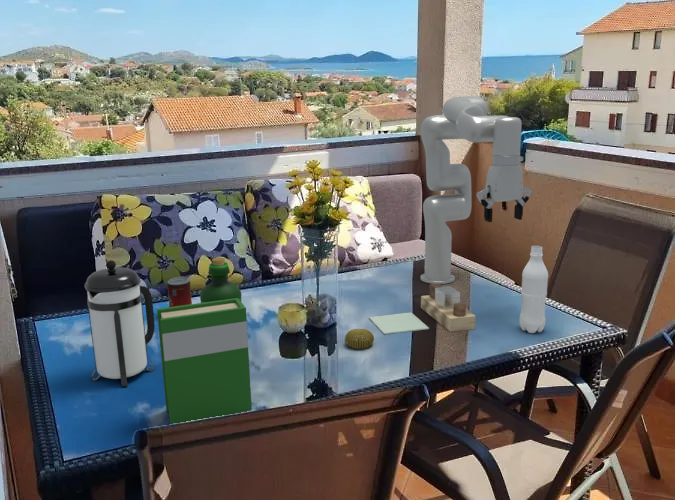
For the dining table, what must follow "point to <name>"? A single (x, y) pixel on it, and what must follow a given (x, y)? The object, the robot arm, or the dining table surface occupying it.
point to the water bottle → (534, 292)
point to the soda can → (179, 291)
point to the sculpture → (359, 338)
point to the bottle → (219, 283)
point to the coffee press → (119, 322)
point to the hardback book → (205, 359)
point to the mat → (398, 323)
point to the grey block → (446, 297)
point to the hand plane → (448, 313)
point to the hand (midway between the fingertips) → (503, 220)
